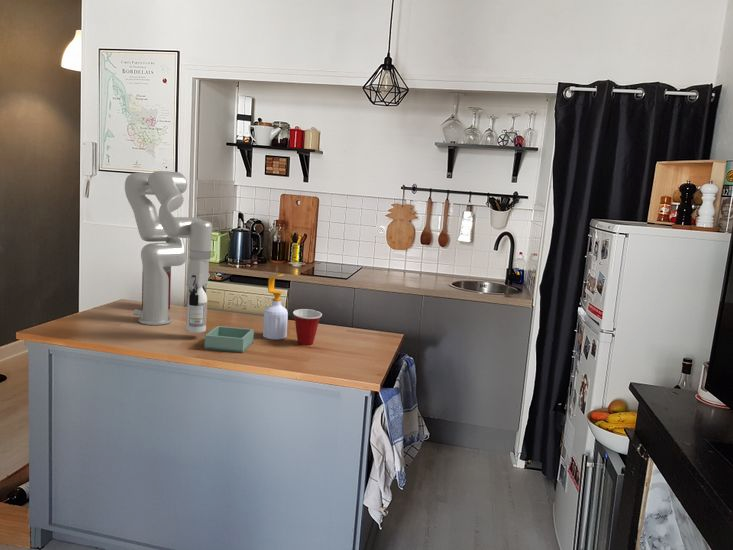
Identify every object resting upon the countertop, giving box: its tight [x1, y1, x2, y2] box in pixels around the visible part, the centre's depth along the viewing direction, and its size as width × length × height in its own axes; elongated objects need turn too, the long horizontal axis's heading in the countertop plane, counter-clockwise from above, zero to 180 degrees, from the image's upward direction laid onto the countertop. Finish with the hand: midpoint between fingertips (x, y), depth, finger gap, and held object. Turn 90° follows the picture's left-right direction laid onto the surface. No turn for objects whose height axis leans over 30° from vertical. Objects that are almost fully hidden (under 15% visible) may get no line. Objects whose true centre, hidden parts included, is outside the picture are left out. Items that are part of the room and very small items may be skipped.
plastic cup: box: [292, 308, 323, 346], centre depth 217 cm, size 11×11×12 cm
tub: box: [203, 325, 255, 354], centre depth 208 cm, size 14×14×5 cm
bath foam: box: [185, 285, 208, 334], centre depth 212 cm, size 7×7×20 cm
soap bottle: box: [262, 273, 289, 341], centre depth 222 cm, size 9×9×25 cm
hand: (197, 302), depth 212 cm, fingers closed on bath foam, 7 cm apart
